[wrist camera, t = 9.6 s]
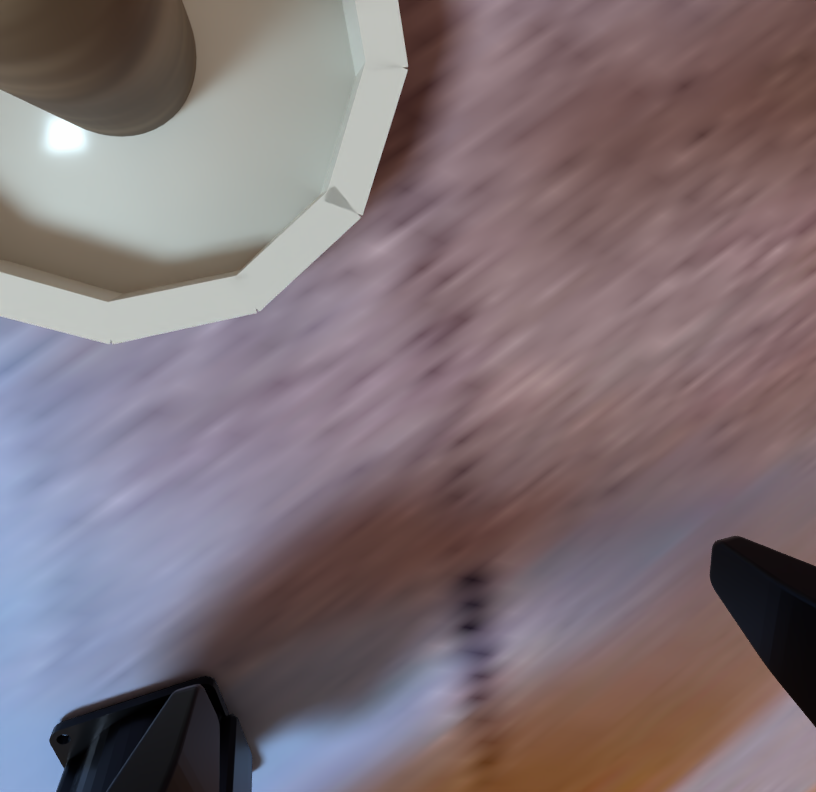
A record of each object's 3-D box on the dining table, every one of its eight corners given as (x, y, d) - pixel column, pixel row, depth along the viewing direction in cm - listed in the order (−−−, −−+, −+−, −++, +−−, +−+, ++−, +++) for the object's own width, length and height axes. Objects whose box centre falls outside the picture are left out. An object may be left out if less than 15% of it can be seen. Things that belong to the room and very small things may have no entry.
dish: (-58, 367, 18) (-113, 393, 15) (-396, -315, 12) (-573, -457, 10) (417, 265, 20) (439, 272, 18) (317, -332, 15) (329, -447, 12)
